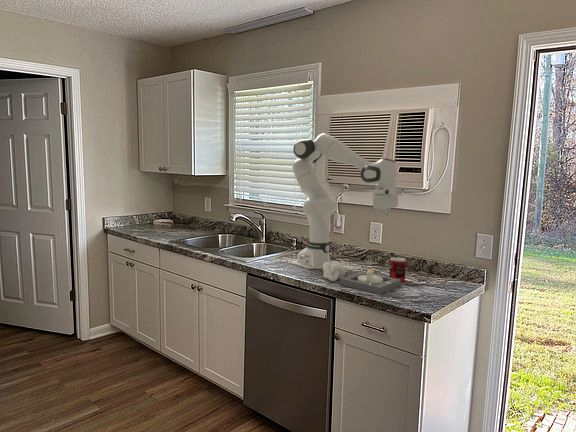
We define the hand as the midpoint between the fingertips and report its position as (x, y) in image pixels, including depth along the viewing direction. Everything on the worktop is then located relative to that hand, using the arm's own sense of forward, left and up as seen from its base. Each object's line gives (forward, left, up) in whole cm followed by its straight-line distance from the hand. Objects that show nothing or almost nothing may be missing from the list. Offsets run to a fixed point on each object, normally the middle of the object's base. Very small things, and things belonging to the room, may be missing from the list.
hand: (385, 217), depth 231 cm
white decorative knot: (-14, -26, -31) cm, 43 cm away
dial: (+5, -21, -30) cm, 37 cm away
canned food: (+10, -3, -31) cm, 33 cm away
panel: (+5, -21, -31) cm, 38 cm away
